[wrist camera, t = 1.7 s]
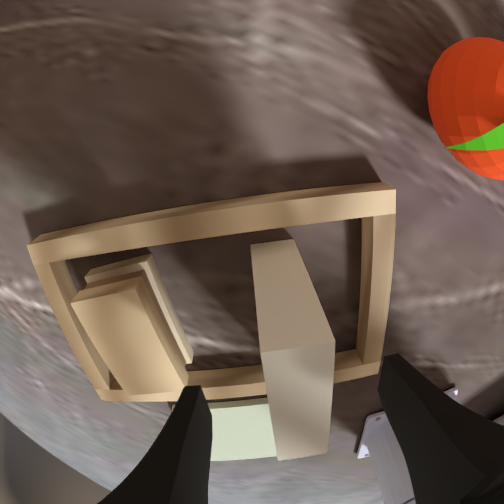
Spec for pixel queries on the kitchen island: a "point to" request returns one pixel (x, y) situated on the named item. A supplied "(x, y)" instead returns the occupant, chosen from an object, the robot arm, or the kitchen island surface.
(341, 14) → the kitchen island surface
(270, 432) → the sage mat
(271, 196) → the wooden rectangular frame
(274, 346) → the cream rectangular block
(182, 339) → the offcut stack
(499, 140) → the clementine
